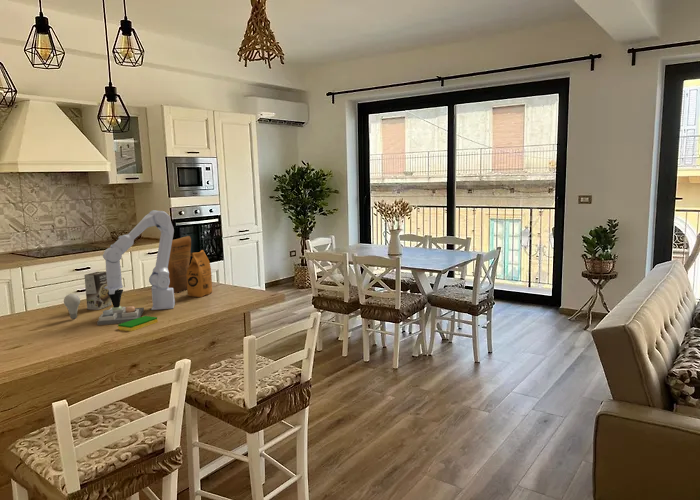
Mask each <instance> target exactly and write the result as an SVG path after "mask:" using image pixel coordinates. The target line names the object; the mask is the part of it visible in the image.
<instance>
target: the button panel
mask: <svg viewBox="0 0 700 500" xmlns="http://www.w3.org/2000/svg"><path fill="white" fill-rule="evenodd" d="M121 308H122V309H121V310H113V315H112V316H105V317H104V316H103V313H101V315H99V316H98V320H97V321H96V323H97V326H104V325H115V324H116V325H117V324H122V323H125V322H128V321H131V320H134V319H137V318H140V317H142V315H143V313H144V311H145V308H144V307H135V312H131V313H126V306H121ZM108 310H112V307H110V309H108Z"/></svg>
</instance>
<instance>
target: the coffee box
mask: <svg viewBox="0 0 700 500" xmlns="http://www.w3.org/2000/svg"><path fill="white" fill-rule="evenodd" d="M84 285H85V297H86V299H85V300H86V309H87V310H93V311H94V310H96V311H98V310H101V309H105V308H108V307H111V306H113V304H112V301H111V299H110V297H109V295H108V294H107V292H109V290H108V289H105V288H104V287H105V286H107V276H106V271H95V272H91V273H87V274H84Z"/></svg>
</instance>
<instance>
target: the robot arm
mask: <svg viewBox="0 0 700 500" xmlns="http://www.w3.org/2000/svg"><path fill="white" fill-rule="evenodd" d="M151 227H156V228H157V230H159V231H160V237H159V243H158V248H157V256H156V260H155V265H154V266H155V267H154V268H153V269H152V273H151V274H150V276H149V278H148V279H149V280H148V282H149V284H150V285H151V298H152V300H151V301H152V306H151V309H150V310H151V311H155V310H157V311H158V310H167V309H168V310H169V309H174V307H175V304H176V300H175V293H174V289H173V288H169V284H170V279H169V271H168V263H169V257H170V251H171V245H172V240H174V239H173V238H174V233H175V229H174V226H173V223H172V221H171V216H170V215H169V214H168V213H167V212H166V211H164V210H155V209H153V210H150V211H149V212H148V214H146V215H144V216H143V218H142V219H141V220H140V221H139V222H138V223H137V224H136V225H135V226H134V227H133V228H132V229H131V231H130V232H128V233H127V234H123V235H118V237H117V240H116V241H115V242H114V243H112V244H111V245H110V246H109V247H108V248H106V249H105V250H104V252H103V254H102V258H103V259H104V260H105V272H106V276H107V286H105V287H104V288H105V289H108V290H109V292H107V294H108V295H109V297H110V299H111V303H112V307H114V308H115V307H120V306H121V299H122V296H123V295H122V294H123V292H124V289H123V287H124V286H123V281H122V280H123V279H122V269H121V268H122V267H121V260H122V257H123V255H124V254H125V253H126V252H127V251H128V250H130V248H131V247H132V246H133V245H134V244H135V239H136V238H137V237H139V236H140V235H141V234H142V233H143V232H144V231H145V230H147V229H148V228H151Z"/></svg>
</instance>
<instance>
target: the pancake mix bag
mask: <svg viewBox="0 0 700 500" xmlns="http://www.w3.org/2000/svg"><path fill="white" fill-rule="evenodd" d="M191 248H192V238H191V236H190V235H187V236H183V237H178V238H176V239H172V245H171V251H170V257H169V263H168V271H169V279H170V284H169V286H168V288H173V289H174V294H177V293H181V292H184V291H187V277H186V275H187V270H188V267H189V265H190V264H191V257H192V256H191V255H190V254H191V253H192V252H191Z"/></svg>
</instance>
